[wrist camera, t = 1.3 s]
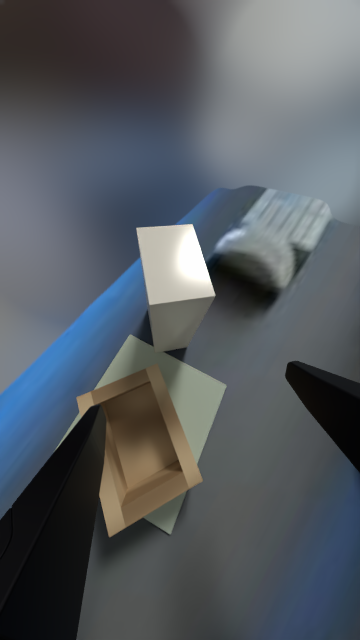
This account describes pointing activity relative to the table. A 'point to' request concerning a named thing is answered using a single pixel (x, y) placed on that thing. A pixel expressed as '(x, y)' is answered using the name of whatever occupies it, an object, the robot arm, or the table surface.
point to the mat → (188, 399)
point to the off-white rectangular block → (174, 284)
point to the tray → (140, 448)
